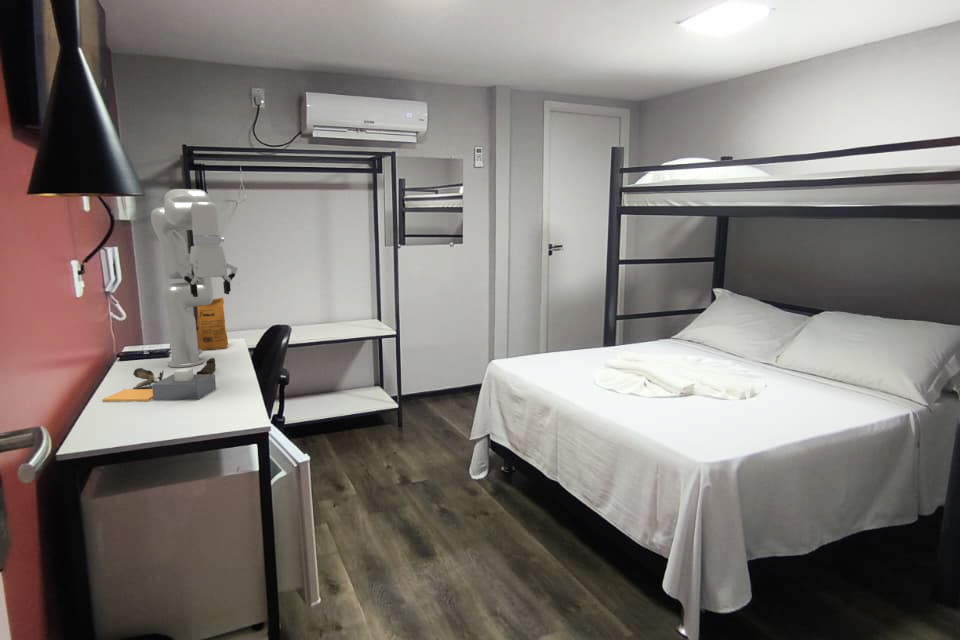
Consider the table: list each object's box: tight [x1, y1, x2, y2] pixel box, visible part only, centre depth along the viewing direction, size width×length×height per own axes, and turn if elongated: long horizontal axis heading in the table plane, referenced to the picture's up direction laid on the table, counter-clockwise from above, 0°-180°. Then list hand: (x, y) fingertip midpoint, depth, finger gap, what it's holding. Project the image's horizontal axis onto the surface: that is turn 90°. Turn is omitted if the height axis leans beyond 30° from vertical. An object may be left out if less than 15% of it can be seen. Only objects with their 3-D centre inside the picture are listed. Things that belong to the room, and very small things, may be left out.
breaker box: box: [151, 373, 217, 401], centre depth 187 cm, size 12×14×5 cm
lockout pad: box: [102, 388, 153, 403], centre depth 186 cm, size 11×14×1 cm
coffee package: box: [196, 297, 229, 352], centre depth 255 cm, size 10×12×22 cm
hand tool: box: [196, 357, 216, 374], centre depth 212 cm, size 19×4×5 cm, turn 10°
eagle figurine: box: [132, 367, 165, 389], centre depth 196 cm, size 8×7×9 cm
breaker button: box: [173, 368, 194, 381], centre depth 187 cm, size 4×4×4 cm
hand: (211, 295), depth 189 cm, fingers open, 9 cm apart
